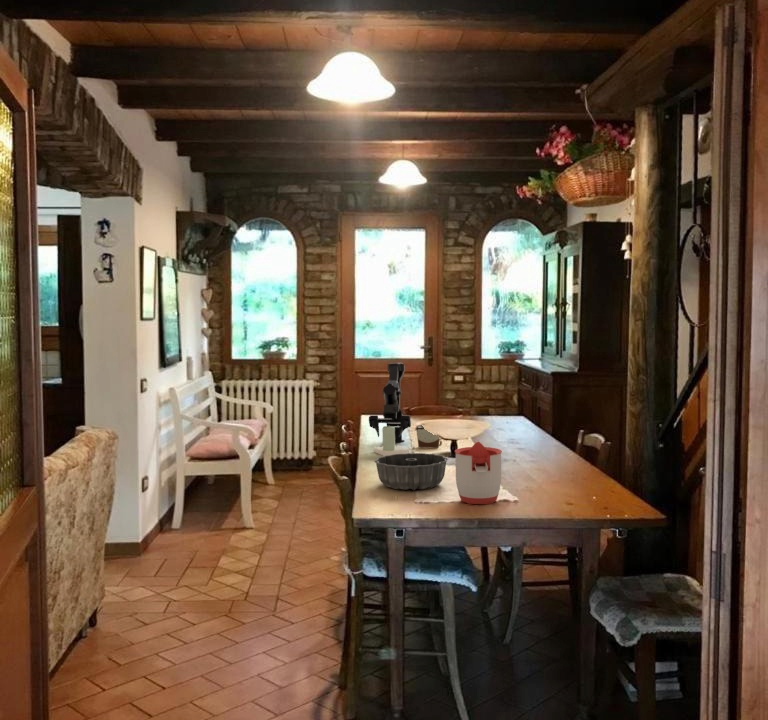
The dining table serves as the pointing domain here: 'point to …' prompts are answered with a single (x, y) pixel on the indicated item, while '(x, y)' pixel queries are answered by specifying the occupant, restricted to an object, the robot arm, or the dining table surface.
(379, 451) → the plate
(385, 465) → the bundt pan
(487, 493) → the citrus juicer
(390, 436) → the sage block
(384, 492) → the dining table surface
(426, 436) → the food container
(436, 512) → the dining table surface
